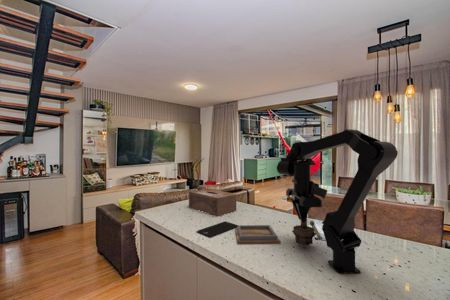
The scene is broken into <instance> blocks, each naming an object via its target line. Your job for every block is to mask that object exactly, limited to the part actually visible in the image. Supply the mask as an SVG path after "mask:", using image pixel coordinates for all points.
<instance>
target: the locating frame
mask: <svg viewBox="0 0 450 300" xmlns="http://www.w3.org/2000/svg"><path fill="white" fill-rule="evenodd" d="M236 225H237V229H238V234H239V238H240V240H277V237H278V235H277V234H276V232H275V231H274V229H273V228H272V226H271V225H270V224H254V225H253V224H246V225H245V224H244V225H243V224H242V225H238V224H236ZM261 229H268V230H269V232H270V233H271V235H242V232H241V230H261Z"/></svg>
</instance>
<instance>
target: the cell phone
mask: <svg viewBox="0 0 450 300" xmlns="http://www.w3.org/2000/svg"><path fill="white" fill-rule="evenodd" d="M237 225H238V224H237V223H236V224H235V223H233V222H230V221H226V220H225V221H223V222H219V223H215V224H213V225H210V226H208V227H205V228H201V229H199V230H196V233H197V234H199V235H201V236H204V237H206V238H209V239H211V238H214V237H217V236H220V235H222V234H224V233H227V232H229V231H232V230H235V228H237Z"/></svg>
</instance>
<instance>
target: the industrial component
mask: <svg viewBox="0 0 450 300" xmlns="http://www.w3.org/2000/svg"><path fill="white" fill-rule="evenodd" d="M292 228H293V230H291V232H292V233H293V235H294V236H295V237H294V239H295V240H294V241H295V244H298V245H300V246H306V247H307V246H311V245H313V244H314V243H313V238H315V237H316V236H317V235H316V233H315V230H314V228H312V226H309V225H308V217H307V218H306V221H305V222H302V221H301V220H300V225H295V226H293V227H292Z"/></svg>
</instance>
